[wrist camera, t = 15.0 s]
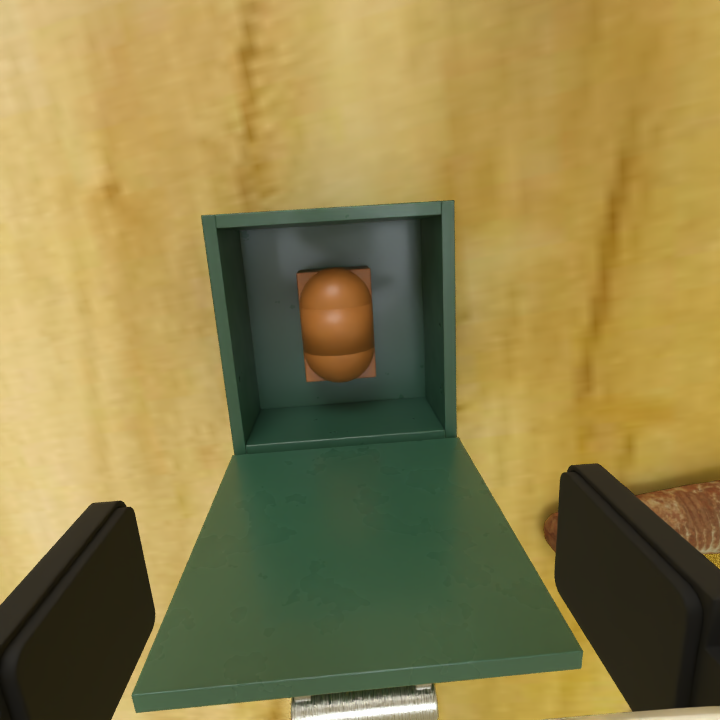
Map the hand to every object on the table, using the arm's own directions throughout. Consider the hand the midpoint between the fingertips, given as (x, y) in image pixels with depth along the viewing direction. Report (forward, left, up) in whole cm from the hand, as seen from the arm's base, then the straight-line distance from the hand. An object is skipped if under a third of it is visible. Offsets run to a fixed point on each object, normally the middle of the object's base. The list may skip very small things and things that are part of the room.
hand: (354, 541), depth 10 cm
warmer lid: (+7, 0, -12) cm, 14 cm away
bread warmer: (0, 0, -28) cm, 28 cm away
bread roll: (0, 0, -28) cm, 28 cm away
